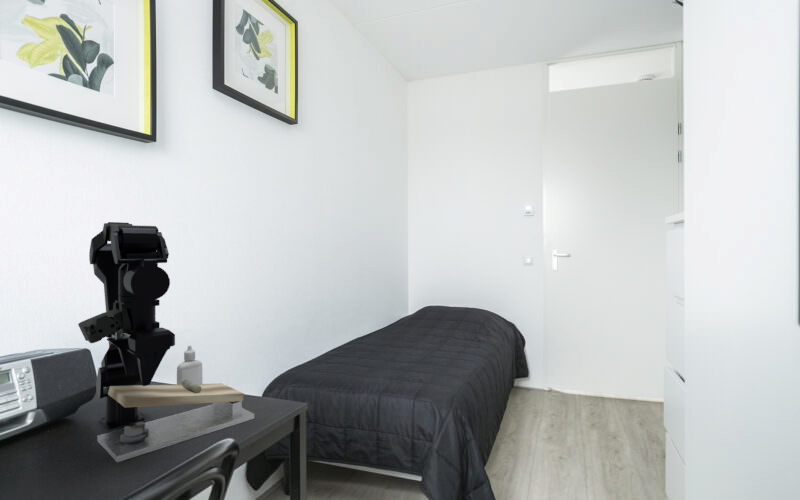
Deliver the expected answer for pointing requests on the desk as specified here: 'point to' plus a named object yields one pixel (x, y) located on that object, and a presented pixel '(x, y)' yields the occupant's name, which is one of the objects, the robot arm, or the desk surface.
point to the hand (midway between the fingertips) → (137, 380)
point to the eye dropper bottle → (189, 368)
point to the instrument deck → (173, 394)
